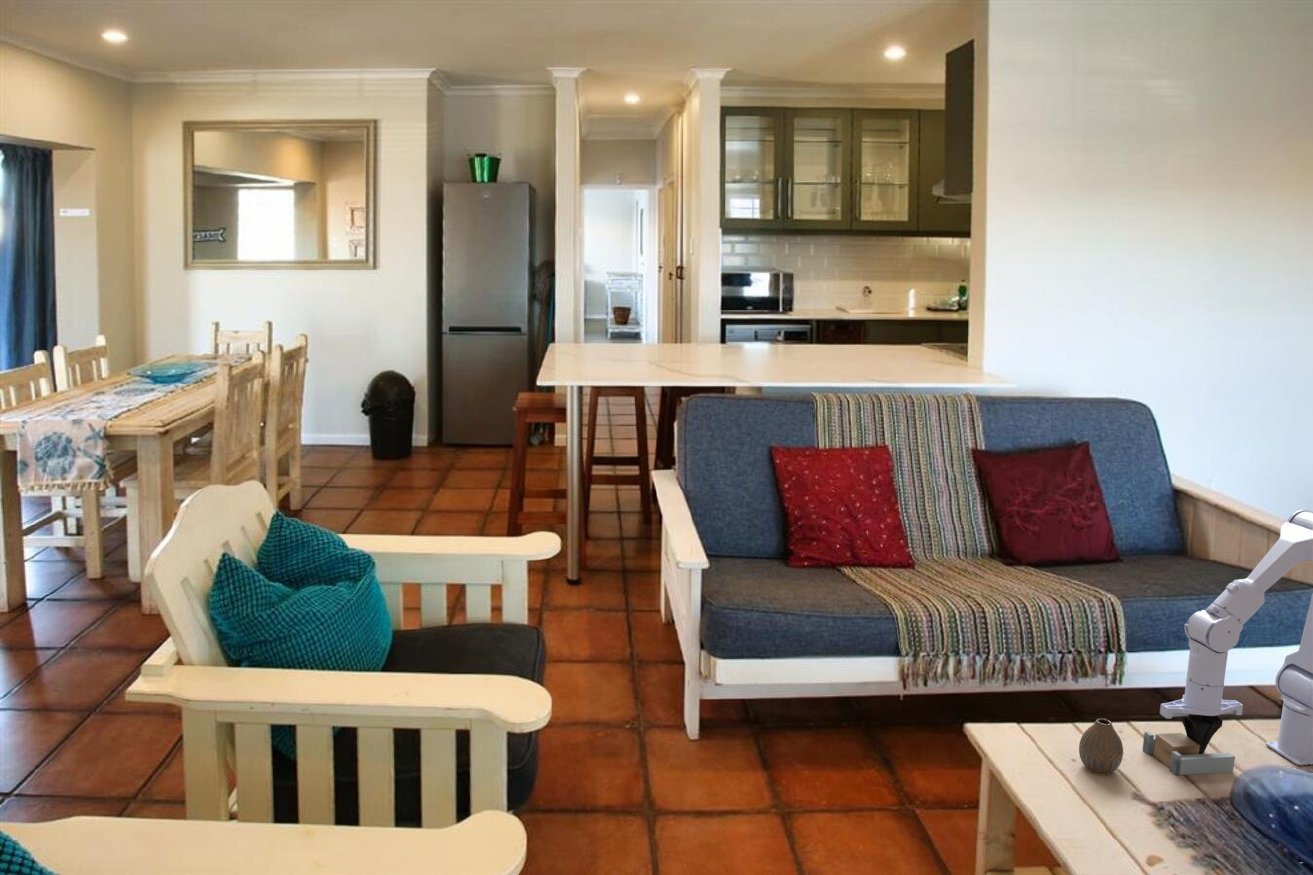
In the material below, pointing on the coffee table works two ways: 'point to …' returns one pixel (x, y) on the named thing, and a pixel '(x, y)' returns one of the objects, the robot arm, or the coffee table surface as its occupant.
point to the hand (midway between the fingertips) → (1195, 753)
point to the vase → (1101, 748)
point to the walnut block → (1173, 746)
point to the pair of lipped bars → (1193, 760)
